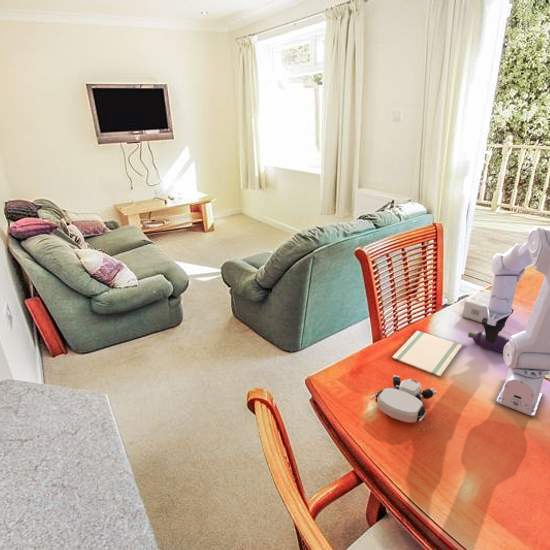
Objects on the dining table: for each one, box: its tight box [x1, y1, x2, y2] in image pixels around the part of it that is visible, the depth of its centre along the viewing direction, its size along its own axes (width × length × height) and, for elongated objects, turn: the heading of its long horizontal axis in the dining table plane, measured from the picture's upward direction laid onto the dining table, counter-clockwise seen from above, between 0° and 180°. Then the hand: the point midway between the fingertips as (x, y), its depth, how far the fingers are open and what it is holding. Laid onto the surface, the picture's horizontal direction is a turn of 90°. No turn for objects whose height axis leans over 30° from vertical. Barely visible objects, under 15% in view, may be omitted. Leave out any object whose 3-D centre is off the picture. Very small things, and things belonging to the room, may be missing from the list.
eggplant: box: [467, 330, 510, 354], centre depth 112 cm, size 12×5×5 cm, turn 48°
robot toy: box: [369, 374, 437, 424], centre depth 92 cm, size 12×4×15 cm
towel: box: [391, 330, 463, 378], centre depth 112 cm, size 18×14×1 cm
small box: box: [462, 288, 491, 324], centre depth 129 cm, size 8×6×13 cm
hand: (493, 335), depth 110 cm, fingers open, 7 cm apart
